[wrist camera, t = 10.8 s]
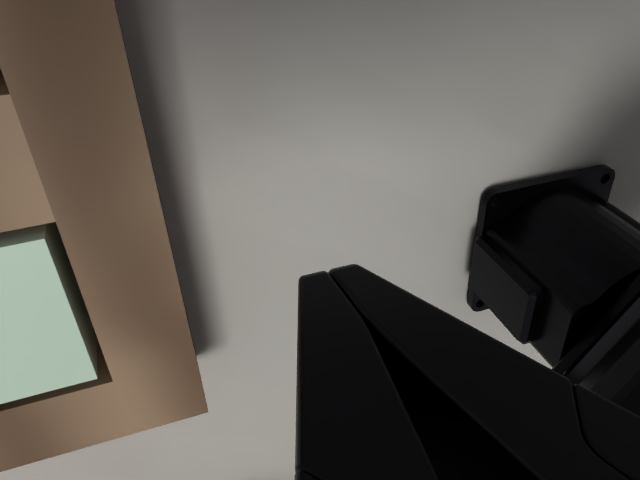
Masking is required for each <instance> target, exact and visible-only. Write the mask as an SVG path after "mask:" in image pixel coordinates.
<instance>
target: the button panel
mask: <svg viewBox="0 0 640 480" xmlns="http://www.w3.org/2000/svg"><path fill="white" fill-rule="evenodd" d="M52 222H56V224H57V227H58V230H59V232H60V235H61V238H62V241H63V244H64V246H65V249H66V252H67V255H68V257H69V260H70V263H71V266H72V269H73V271H74V274H75V277H76V280H77V283H78V285H79V288H80V291H81V294H82V297H83V299H84V302H85V305H86V308H87V310H88V313H89V316H90V319H91V322H92V324H93V327H94V330H95V333H96V336H97V373H98V379H95V380H91V381H87V382H83V383H79V384H76V385H72V386H68V387H64V388H60V389H56V390H53V391H49V392H45V393H41V394H37V395H33V396H30V397H26V398H22V399H18V400H14V401H11V402H7V403H3V404H0V472H2V471H5V470H9V469H12V468H16V467H19V466H23V465H26V464H30V463H33V462H36V461H40V460H43V459H47V458H50V457H54V456H57V455H61V454H64V453H68V452H71V451H75V450H78V449H82V448H85V447H89V446H92V445H96V444H99V443H102V442H106V441H109V440H113V439H116V438H120V437H123V436H127V435H130V434H134V433H137V432H141V431H144V430H148V429H151V428H155V427H158V426H161V425H165V424H168V423H172V422H175V421H179V420H182V419H186V418H189V417H193V416H196V415H200V414H203V413H207V412H208V408H207V404H206V399H205V395H204V390H203V386H202V381H201V377H200V372H199V367H198V363H197V358H196V354H195V350H194V345H193V341H192V336H191V332H190V328H189V323H188V319H187V315H186V310H185V306H184V302H183V297H182V293H181V288H180V284H179V280H178V275H177V271H176V267H175V262H174V258H173V254H172V249H171V245H170V240H169V236H168V232H167V227H166V223H165V219H164V214H163V210H162V206H161V201H160V197H159V192H158V188H157V184H156V179H155V175H154V171H153V166H152V162H151V158H150V153H149V149H148V144H147V140H146V136H145V131H144V127H143V123H142V118H141V114H140V110H139V105H138V101H137V97H136V92H135V88H134V83H133V79H132V75H131V70H130V66H129V62H128V57H127V53H126V49H125V44H124V40H123V35H122V31H121V27H120V22H119V18H118V14H117V9H116V5H115V1H114V0H0V233H1V232H6V231H11V230H16V229H21V228H26V227H32V226H37V225H42V224H47V223H52Z"/></svg>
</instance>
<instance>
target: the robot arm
mask: <svg viewBox="0 0 640 480" xmlns="http://www.w3.org/2000/svg"><path fill="white" fill-rule="evenodd" d="M614 177H615V172H614V170H613V169H611V168H610V167H608V166H606V165H598V166H594V167H589V168H585V169H580V170H575V171H571V172H566V173H562V174H557V175H553V176H548V177H543V178H539V179H534V180H530V181H525V182H521V183H516V184H512V185H507V186H502V187H498V188H493V189H491V190H489V191H487V192H486V193H485V194H484V196H483V197H482V200H481V205H480V212H479V219H478V226H477V233H476V240H475V243H474V249H473V256H472V263H471V270H470V277H469V290H468V297H467V304H468V305H469V306H470V307H471V309H472V310H473V311H476V312H477V311H482V310H486V309H490V310H491V311H492V312H493V313H494V314H495V316H496V317H497V318H498V319H499V320H500V321H501V322H502V323H503V325H504V326H505V327H506V328H507V329H508V330H509V331H510V332H511V334H512V335H513V336H514V337H515V338H516V339H517V340H518V341H519V342H521V343H522V344H527V343H531V344H532V346H533V347H534V348H535V349H536V350H537V351H538V352H539V353H540V354H541V355H542V357H543V358H544V359H545V360H546V361H547V362H548V363H549V364H550V365H551V366H552V369H550V368H548V367H546V366H544V365H542V364H540V363H538V362H537V361H535V360H533V359H531V358H529V357H527V356H526V355H524V354H522V353H520V352H518V351H516V350H514V349H513V348H511V347H509V346H507V345H505V344H503V343H502V342H500V341H498V340H496V339H494V338H492V337H490V336H489V335H487V334H485V333H483V332H481V331H479V330H478V329H476V328H474V327H472V326H470V325H468V324H466V323H465V322H463V321H461V320H459V319H457V318H455V317H454V316H452V315H450V314H448V313H446V312H444V311H442V310H441V309H439V308H437V307H435V306H433V305H431V304H429V303H428V302H426V301H424V300H422V299H420V298H418V297H417V296H415V295H413V294H411V293H409V292H407V291H405V290H404V289H402V288H400V287H398V286H396V285H394V284H393V283H391V282H389V281H387V280H385V279H383V278H381V277H380V276H378V275H376V274H374V273H372V272H370V271H369V270H367V269H365V268H363V267H361V266H359V265H356V264H351V265H347V266H342V267H338V268H334V269H331V270H330V271H329V272H325V271H321V272H316V273H312V274H308V275H303V276H301V277H300V278H299V284H298V339H297V394H296V449H295V471H296V474H295V480H640V223H639V222H637V221H636V220H634V219H633V218H631V217H630V216H628V215H627V214H625V213H624V212H622V211H621V210H619V209H618V208H616V207H615V206H613V205H612V204H610V203H609V202H607V201H608V198H609V194H610V191H611V188H612V184H613V181H614ZM495 199H496V201H495V202H494V203H492V202H493V201H494V200H495Z"/></svg>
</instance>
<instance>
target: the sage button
mask: <svg viewBox="0 0 640 480" xmlns="http://www.w3.org/2000/svg"><path fill="white" fill-rule="evenodd" d="M95 379H98V373H97V336H96V333H95V330H94V327H93V324H92V322H91V319H90V316H89V313H88V310H87V308H86V305H85V302H84V299H83V297H82V294H81V291H80V288H79V285H78V283H77V280H76V277H75V274H74V271H73V269H72V266H71V263H70V260H69V257H68V255H67V252H66V249H65V246H64V244H63V241H62V238H61V235H60V232H59V230H58V227H57V224H56V222H52V223H47V224H42V225H37V226H32V227H26V228H21V229H16V230H11V231H6V232H1V233H0V404H3V403H7V402H11V401H14V400H18V399H22V398H26V397H30V396H33V395H37V394H41V393H45V392H49V391H53V390H56V389H60V388H64V387H68V386H72V385H76V384H79V383H83V382H87V381H91V380H95Z"/></svg>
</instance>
